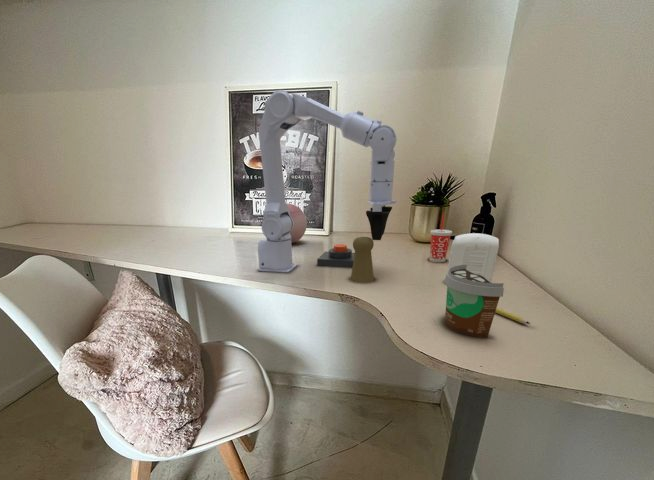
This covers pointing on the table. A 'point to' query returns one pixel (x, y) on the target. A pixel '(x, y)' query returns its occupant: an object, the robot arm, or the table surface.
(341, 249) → the timer button
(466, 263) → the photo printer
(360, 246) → the cork
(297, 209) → the pink ball
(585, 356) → the table surface
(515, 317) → the pencil
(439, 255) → the beverage cup
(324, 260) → the dark grey button base
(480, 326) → the food container
